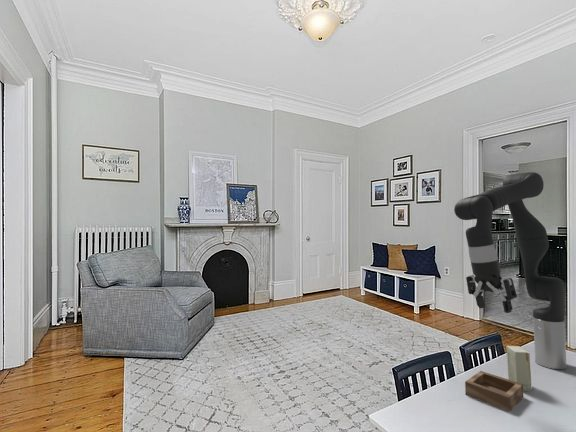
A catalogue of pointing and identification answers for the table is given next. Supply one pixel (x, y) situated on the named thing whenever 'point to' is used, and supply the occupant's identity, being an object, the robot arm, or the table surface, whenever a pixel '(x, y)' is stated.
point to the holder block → (494, 390)
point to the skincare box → (519, 366)
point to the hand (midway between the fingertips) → (494, 309)
